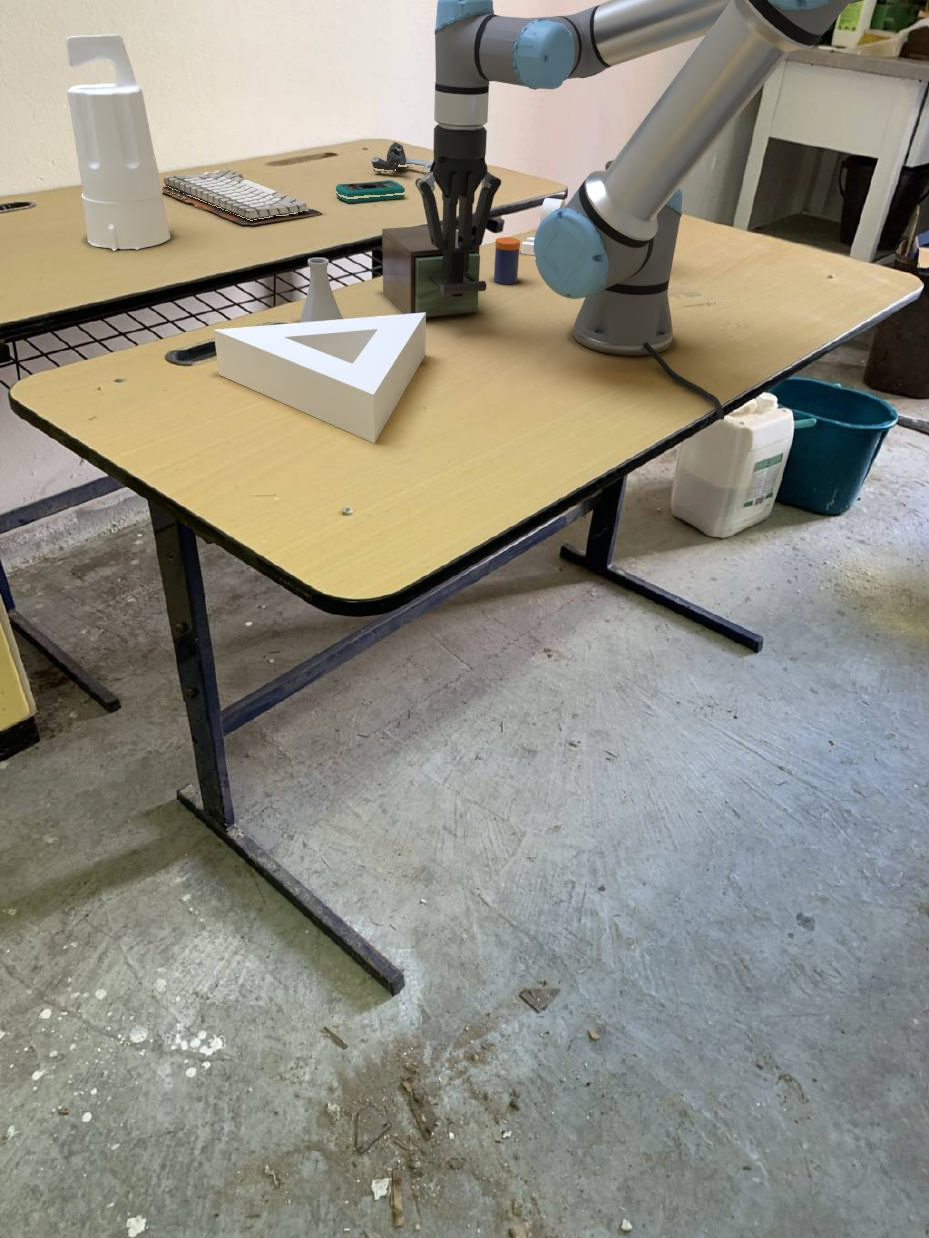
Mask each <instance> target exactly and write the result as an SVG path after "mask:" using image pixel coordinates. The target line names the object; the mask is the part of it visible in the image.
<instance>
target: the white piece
mask: <svg viewBox="0 0 929 1238" xmlns="http://www.w3.org/2000/svg"><path fill="white" fill-rule="evenodd" d="M65 45H66V53H67V55H66V57H67V62H68V65H69V66H70V67H71V68H72V69H73V68H74V69H75V68H80V67H84V66H86V65H88V64H91V63H94V62H100V61H105V62H109V63H111V64H112V66H113V68H114V70H115V74H116V75H115V76H116V78H115V82H114V83H97V84H79V85H78V84H77V85H73V86H70V87H69V89H67V90H66V94H67V100H68V106H69V112H70V118H71V124H72V130H73V136H74V143H75V150H76V156H77V166H78V171H79V178H80V185H81V188H82V190H81V191H82V192H81V195H80V196H81V203H82V210H83V215H84V216H83V217H84V222H85V223H84V224H85V230H86V237H87V243H89V245H91V246H93V247H99V248H104V249H107V248H108V249H111V250H112V251H117V250H118V249H120V250H130V249H135V250H139V249H144V248H148V247H154V246H158V245H160V244H163V243H165V242H167V241H169V240H171V236H172V235H171V233H170V227H169V223H168V217H167V212H166V206H165V201H164V196H163V192H162V189H163V186H162V184H161V183H162V182H161V176H160V172H159V166H158V162H157V157H156V154H155V149H154V145H153V139H152V135H151V130H150V125H149V119H148V113H147V109H146V103H145V99H144V93H143V88H141V86H139V85H138V83H137V80H136V77H135V72H134V70H133V67H132V66H133V65H132V64H131V60H130V57H129V54H128V51H127V49H126V45H125V41H124V38H123V36H121V35H120V34H119V33H113V34H95V35H94V34H93V35H91V34H90V35H88V34H87V35H71V36H67V37H66V38H65Z"/></svg>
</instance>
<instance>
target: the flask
mask: <svg viewBox="0 0 929 1238" xmlns="http://www.w3.org/2000/svg"><path fill="white" fill-rule="evenodd" d="M307 265H308V266H309V275H310V277H309V285H308V288H307V289H308V290H307V294H306V297H305V301H304V305H303V309H302V312H301V315H300V319H299V323H302V322H314V321H327V320H339V319H344V318H343V316H342V313H341V311H340V309H339V306H338V303H337V301H336V298H335V296H334V293H333V290H332V287H331V283H330V279H329V274H328V266H329V259H328V258H326V257H310V258H308V259H307Z"/></svg>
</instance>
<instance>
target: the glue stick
mask: <svg viewBox="0 0 929 1238" xmlns="http://www.w3.org/2000/svg"><path fill="white" fill-rule="evenodd" d="M494 245H495V251H494V270H493V282H494V283H496V284H499V285H514V284H517V283H518V275H519V273H518V272H519V263H520V262H519V259H520V258H519V257H520V249H521V240H520V239H519V238H515V237H509V236H503V237H498V238H496V239H495V244H494Z"/></svg>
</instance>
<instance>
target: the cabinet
mask: <svg viewBox="0 0 929 1238" xmlns="http://www.w3.org/2000/svg"><path fill="white" fill-rule="evenodd" d="M440 225H441V230H442V226H443V224H440ZM381 231H382V232H381V233H382V234H381V236H382V238H381V240H382V241H381V242H382V246H381V247H382V294H383V295H384V297H386V298H387V299H388V300H389V301H390V302H391V303H392V304H393V305H394V306H395V307H396V308H398V309H399V311H400V312H401V313H402V314H412V313H415V256H427V255H440V254H443V250H441V249H438V248H437V247H435V246H434V245H433V244H432V243H431V239H430V234H429V229H428V225H417V226H403V227H389V228H382V229H381ZM480 247H481V246H476V247H474V248H473V251H472V252H471V253H470V254H476V253H477V254H479V255H480ZM455 248H458V249H459V246H458V230H456V242H455ZM477 312H478V311H475V312H465V313H456V314H446V315H436V316H427V317H426V319H431V318H440V317H450V316H463V315H471V314H477Z"/></svg>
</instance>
